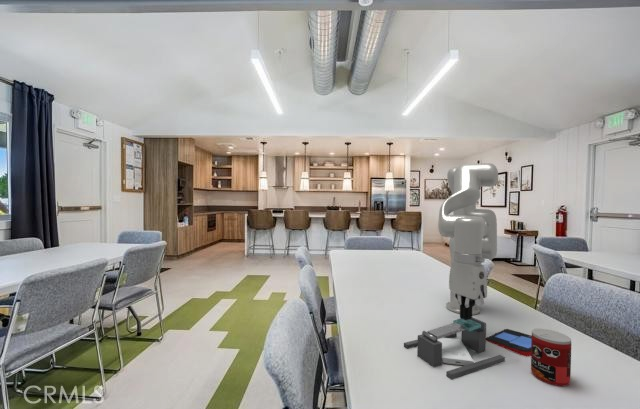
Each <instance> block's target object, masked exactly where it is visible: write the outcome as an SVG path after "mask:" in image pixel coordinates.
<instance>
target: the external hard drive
mask: <svg viewBox="0 0 640 409" xmlns="http://www.w3.org/2000/svg"><path fill="white" fill-rule="evenodd" d="M438 341H440V342H441V343H442V363H444V364H449V365H457V366H465V365H468V364H472V363H475V361H474V359H473V358H472V356H471V354H470V353H469V351H468V348H467V347H465V346H464V344H463V343H462V341H461V339H457V338H440V339H438Z"/></svg>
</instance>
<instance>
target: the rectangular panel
mask: <svg viewBox="0 0 640 409" xmlns="http://www.w3.org/2000/svg"><path fill="white" fill-rule="evenodd" d="M478 328H481V324H479V323H477V322H475V321H472V320H470V319H468V320H463V319H461V318H460V317H459V318H457V319H453V320H452V323H450V324H447V325H443V326H439V327H436V328H434V329H433V328H432V329H430V330H428V331H426V330H422V332H421V334H423V335H424V336H426V337H428V338H429V339H431V340H433V341H434V342H436V341H437V340H438V339H440V338H443V337H446V336H449V335H452V334H455V333H457V334H458V333H462V331H464V330H467V331H472V330H475V329H478Z"/></svg>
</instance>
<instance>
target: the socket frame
mask: <svg viewBox="0 0 640 409" xmlns="http://www.w3.org/2000/svg"><path fill="white" fill-rule="evenodd" d="M470 320H472V321H475V322H477V323H479V324H481V328H478V329H475V330H472V331H467V330H464V331H461V336H460V338H461V339H460V340H461V341H462V343H463V344H464V346H465V347H466V349H469V350H471V351H472V352H475V353H477V354H482V353H485V352H486V350H487V347H486V346H487V341H486V338H487V322H484V321H483V320H480V319H478V318H475V317H473V316H472V318H471V319H470ZM457 334H458V333H455V334H452V335H449V336H446V337H443V338H451V339H454V338H456V337H457V336H458V335H457ZM403 347H404V348H405V349H406V350H409V349H414V348H417V350H416V353H417V355H416V356H417V357H418V358H419V359H421V360H422V361H423V362H425V363H426V364H428V365H429V366H431V367H432V368H436V367H440V366H442V363H443V362H442V343H441V342H440V341H438V340H437V341H436V342H434V341H433V340H431V339H429V338H428V337H426V336H424V335H423V334H422V333H421V334H418V335H417V339H415V340H410V341H407V342H403ZM505 361H506V357H505V356H503V355H502V354H498V355H494V356H492V357H491V356H490V357H488V358H485V359H482V360H478V361H474V363H472V364H468V365H461V366H459V367H456V368H453V369H450V370H447V371H446V375H445V376H446V377H447V378H449V380H454V379H457V378H460V377H463V376H466V375H469V374H472V373H475V372H478V371H481V370H483V369H487V368H490V367H493V366H496V365H499V364H502V363H505Z"/></svg>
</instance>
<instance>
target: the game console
mask: <svg viewBox="0 0 640 409" xmlns="http://www.w3.org/2000/svg"><path fill="white" fill-rule="evenodd" d="M531 337H532V334H527V333H523V332H520V331H517V330H512V329H509V328H504V329H503V330H500V331H498V332H495V333H493V334H491V335H489V336H486V342H487V343H491V344H492V345H495V346H498V347H501V348H503V349H505V350H508V351H510V352H512V353H515V354H517V355H519V356H523V357H531Z"/></svg>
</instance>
